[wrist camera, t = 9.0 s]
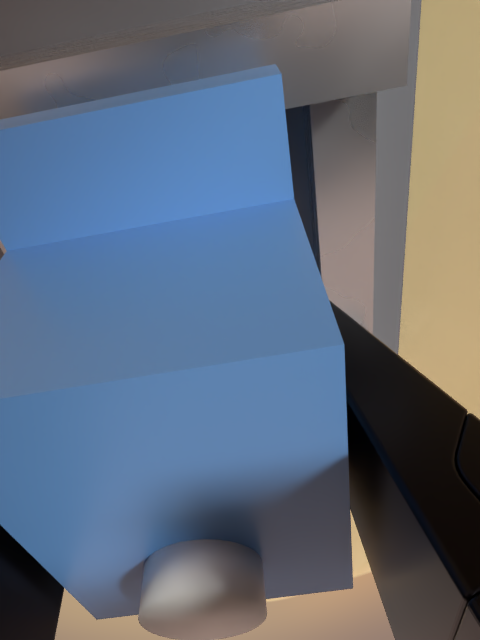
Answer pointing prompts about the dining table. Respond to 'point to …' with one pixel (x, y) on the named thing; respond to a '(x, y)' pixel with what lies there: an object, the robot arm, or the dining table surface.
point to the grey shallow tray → (299, 97)
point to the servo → (169, 359)
